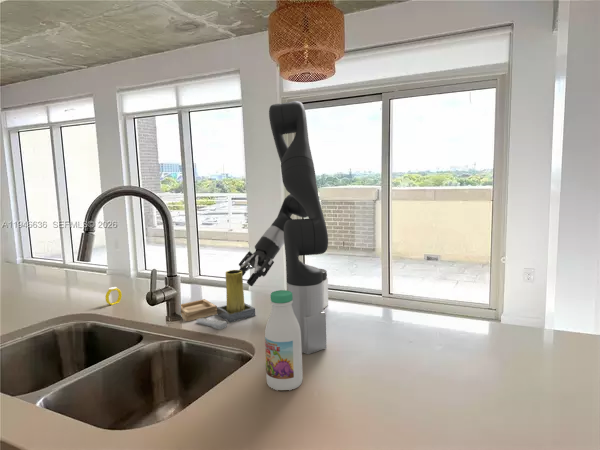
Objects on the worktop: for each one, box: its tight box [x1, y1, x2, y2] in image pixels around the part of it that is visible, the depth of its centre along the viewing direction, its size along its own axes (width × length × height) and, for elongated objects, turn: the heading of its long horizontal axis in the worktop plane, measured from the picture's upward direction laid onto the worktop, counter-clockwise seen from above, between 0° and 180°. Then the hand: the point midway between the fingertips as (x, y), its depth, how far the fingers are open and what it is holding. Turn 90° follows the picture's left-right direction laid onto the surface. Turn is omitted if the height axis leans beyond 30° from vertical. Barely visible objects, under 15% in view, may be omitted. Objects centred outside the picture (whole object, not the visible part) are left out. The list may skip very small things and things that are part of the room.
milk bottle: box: [264, 289, 303, 391], centre depth 87 cm, size 8×8×20 cm
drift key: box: [195, 317, 228, 330], centre depth 123 cm, size 10×3×1 cm, turn 56°
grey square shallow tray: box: [216, 303, 256, 323], centre depth 131 cm, size 9×9×2 cm
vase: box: [225, 269, 246, 313], centre depth 131 cm, size 6×6×14 cm
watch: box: [104, 286, 123, 306], centre depth 147 cm, size 6×3×6 cm, turn 155°
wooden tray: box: [180, 298, 218, 322], centre depth 134 cm, size 11×11×2 cm
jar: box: [319, 268, 329, 310], centre depth 138 cm, size 9×8×12 cm
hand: (242, 281), depth 132 cm, fingers open, 8 cm apart
